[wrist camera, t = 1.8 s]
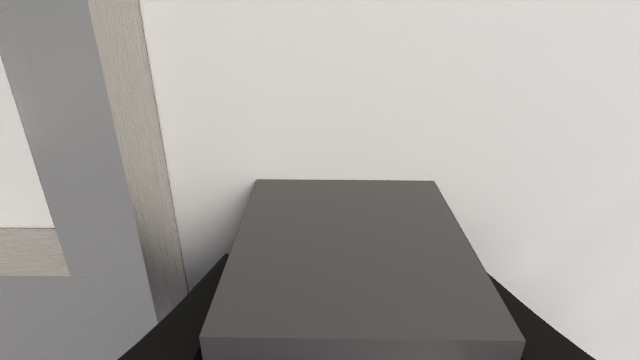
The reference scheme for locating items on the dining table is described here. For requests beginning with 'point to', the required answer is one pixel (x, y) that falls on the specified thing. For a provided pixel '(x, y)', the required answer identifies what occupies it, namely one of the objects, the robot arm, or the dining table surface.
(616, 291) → the dining table surface
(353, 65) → the dining table surface
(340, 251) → the plug
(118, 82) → the socket plate
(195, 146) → the dining table surface
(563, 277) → the dining table surface
